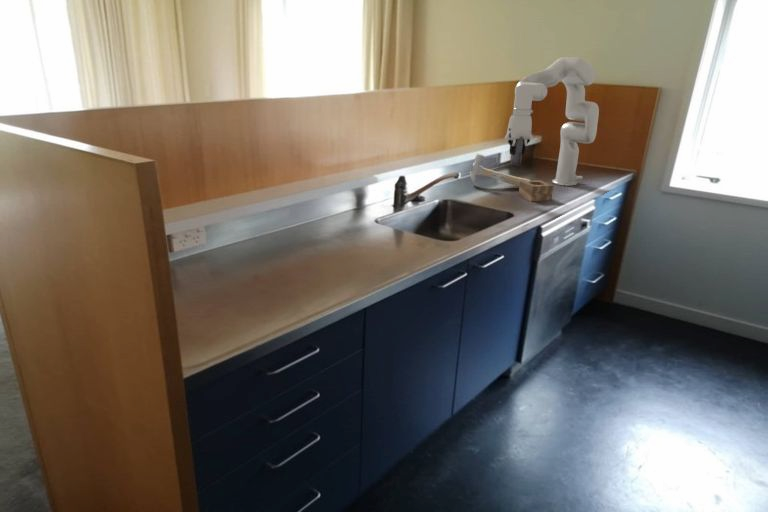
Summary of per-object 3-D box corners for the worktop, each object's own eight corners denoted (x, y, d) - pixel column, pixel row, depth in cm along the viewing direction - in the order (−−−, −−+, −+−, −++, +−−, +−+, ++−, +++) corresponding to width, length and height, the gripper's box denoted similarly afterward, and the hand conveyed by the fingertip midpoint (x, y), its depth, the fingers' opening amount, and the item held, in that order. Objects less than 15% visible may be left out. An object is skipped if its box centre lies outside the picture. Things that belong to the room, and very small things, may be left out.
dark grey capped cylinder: (517, 163, 245) (521, 132, 240) (522, 165, 242) (526, 134, 236) (509, 163, 244) (512, 132, 239) (513, 165, 240) (517, 134, 235)
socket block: (538, 194, 258) (540, 180, 256) (551, 200, 248) (553, 185, 246) (518, 195, 255) (520, 181, 253) (530, 201, 245) (532, 186, 243)
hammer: (533, 168, 268) (475, 152, 267) (534, 170, 263) (476, 154, 263) (522, 198, 273) (466, 182, 273) (523, 200, 269) (466, 184, 269)
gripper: (533, 111, 240) (528, 152, 247) (500, 112, 235) (496, 153, 242) (543, 113, 234) (537, 155, 240) (509, 114, 229) (504, 156, 235)
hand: (516, 153), depth 241 cm, fingers closed on dark grey capped cylinder, 4 cm apart
